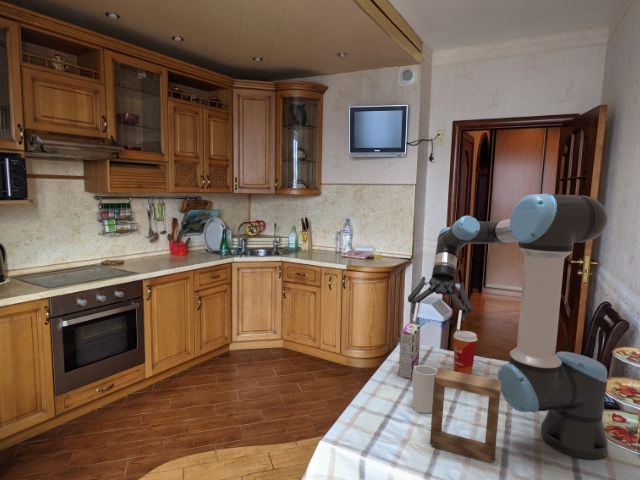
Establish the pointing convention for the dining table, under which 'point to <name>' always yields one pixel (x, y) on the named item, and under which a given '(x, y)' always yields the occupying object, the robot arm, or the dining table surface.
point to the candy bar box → (409, 350)
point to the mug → (423, 388)
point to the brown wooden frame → (493, 391)
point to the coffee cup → (464, 351)
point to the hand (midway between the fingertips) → (435, 326)
